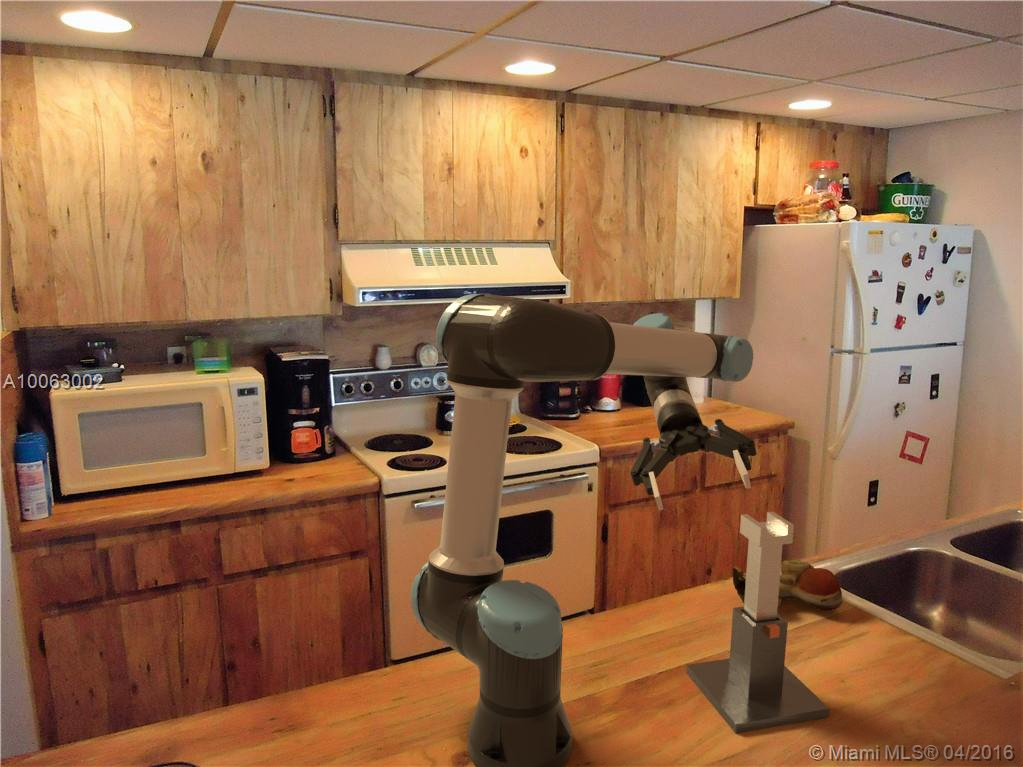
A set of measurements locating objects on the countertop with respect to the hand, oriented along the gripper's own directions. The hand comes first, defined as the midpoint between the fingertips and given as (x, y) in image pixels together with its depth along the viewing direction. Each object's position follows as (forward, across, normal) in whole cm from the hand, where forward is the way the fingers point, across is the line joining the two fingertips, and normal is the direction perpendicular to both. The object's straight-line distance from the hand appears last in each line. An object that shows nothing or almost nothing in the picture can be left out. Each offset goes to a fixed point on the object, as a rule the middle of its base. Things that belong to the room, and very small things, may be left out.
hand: (702, 492), depth 114 cm
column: (+9, 0, -33) cm, 34 cm away
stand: (+10, +1, -34) cm, 36 cm away
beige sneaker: (-18, -10, -48) cm, 52 cm away
